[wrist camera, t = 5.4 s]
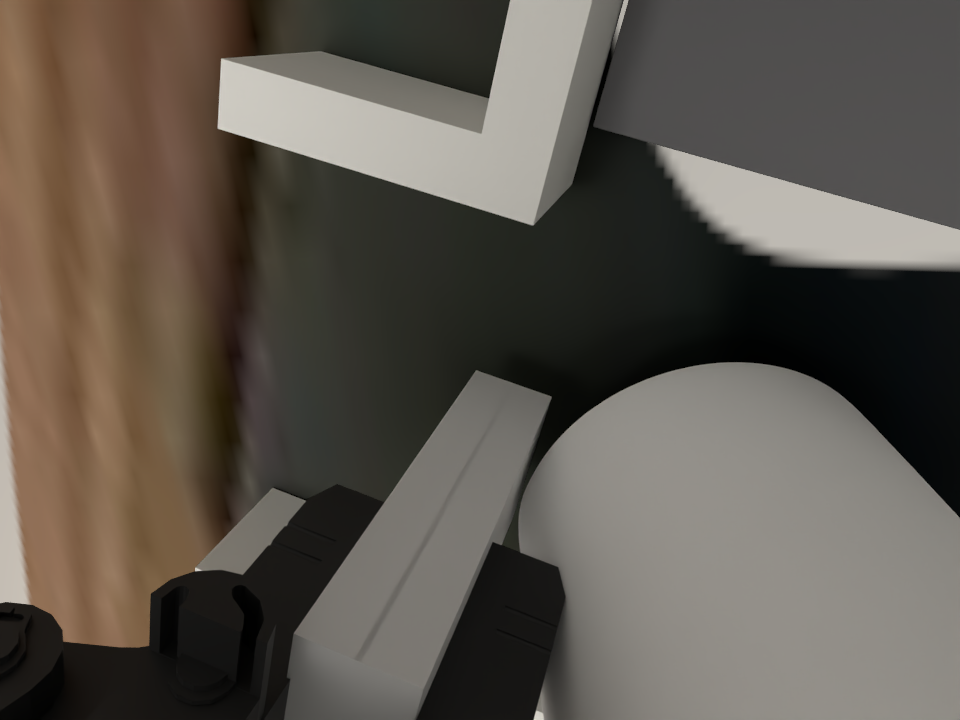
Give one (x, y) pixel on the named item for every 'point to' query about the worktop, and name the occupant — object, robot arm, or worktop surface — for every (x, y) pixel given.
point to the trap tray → (630, 116)
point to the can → (743, 558)
